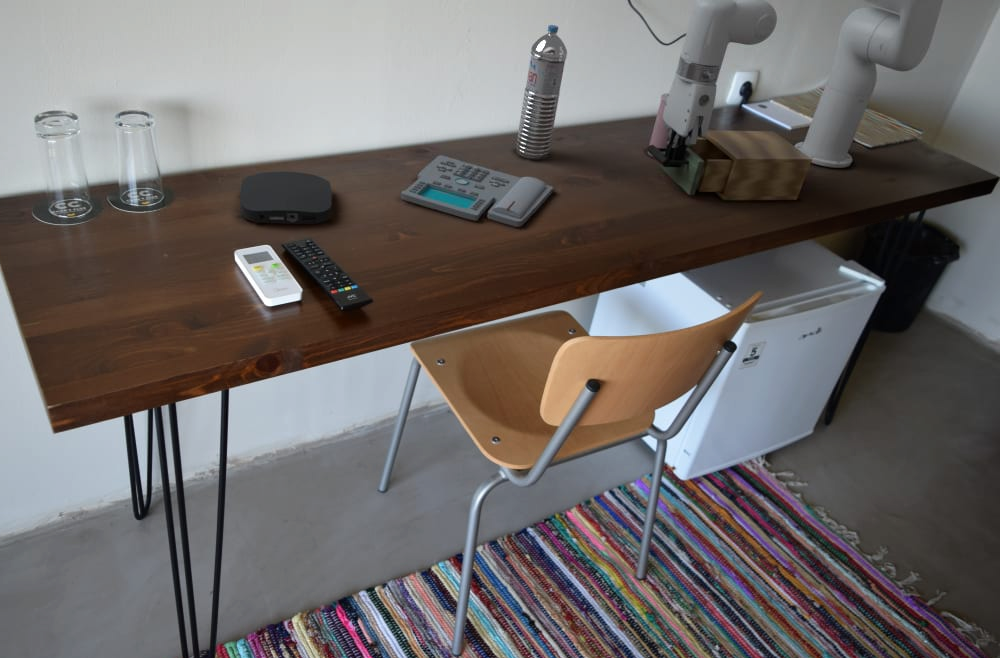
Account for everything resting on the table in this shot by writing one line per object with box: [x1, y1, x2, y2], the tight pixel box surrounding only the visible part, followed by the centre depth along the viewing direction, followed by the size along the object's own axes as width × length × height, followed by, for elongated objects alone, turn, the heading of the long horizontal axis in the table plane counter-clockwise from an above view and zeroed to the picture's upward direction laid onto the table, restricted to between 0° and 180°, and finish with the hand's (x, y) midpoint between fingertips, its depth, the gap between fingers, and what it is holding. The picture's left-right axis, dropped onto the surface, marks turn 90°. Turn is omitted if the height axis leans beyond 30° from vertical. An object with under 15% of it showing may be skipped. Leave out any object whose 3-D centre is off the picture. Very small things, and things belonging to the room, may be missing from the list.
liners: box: [647, 93, 669, 158], centre depth 169 cm, size 6×6×12 cm
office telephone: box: [400, 154, 554, 228], centre depth 145 cm, size 23×3×20 cm
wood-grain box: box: [699, 129, 812, 201], centre depth 161 cm, size 17×14×9 cm
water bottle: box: [515, 24, 568, 161], centre depth 157 cm, size 7×7×25 cm
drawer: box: [647, 137, 734, 196], centre depth 158 cm, size 21×13×7 cm, turn 104°
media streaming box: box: [239, 171, 333, 225], centre depth 134 cm, size 15×15×3 cm
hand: (671, 165), depth 157 cm, fingers closed
